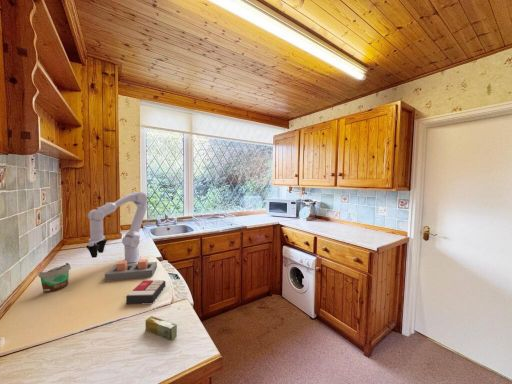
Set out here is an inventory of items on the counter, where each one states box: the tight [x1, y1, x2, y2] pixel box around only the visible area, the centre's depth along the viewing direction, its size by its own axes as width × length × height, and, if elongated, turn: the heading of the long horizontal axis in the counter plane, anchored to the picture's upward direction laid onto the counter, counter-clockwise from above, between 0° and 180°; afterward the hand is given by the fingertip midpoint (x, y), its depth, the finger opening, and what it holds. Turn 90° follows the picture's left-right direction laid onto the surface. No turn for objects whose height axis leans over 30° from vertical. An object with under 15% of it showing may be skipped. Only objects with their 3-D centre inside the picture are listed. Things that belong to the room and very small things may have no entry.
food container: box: [38, 262, 72, 294], centre depth 102 cm, size 12×6×10 cm, turn 168°
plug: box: [115, 260, 129, 271], centre depth 116 cm, size 4×4×6 cm
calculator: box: [125, 279, 166, 305], centre depth 97 cm, size 11×4×15 cm
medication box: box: [145, 315, 178, 341], centre depth 73 cm, size 12×3×4 cm, turn 67°
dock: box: [104, 258, 158, 282], centre depth 117 cm, size 12×22×7 cm, turn 104°
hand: (97, 254), depth 120 cm, fingers open, 7 cm apart
